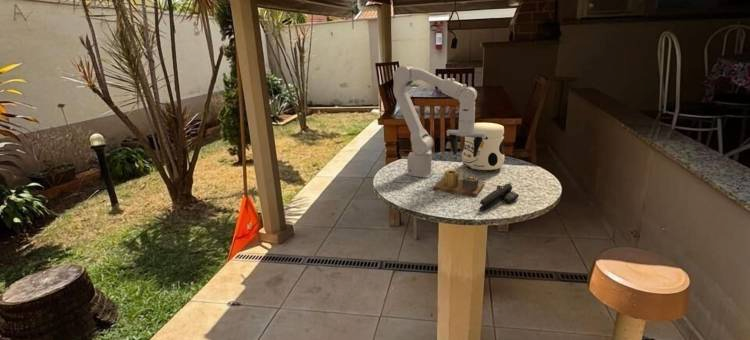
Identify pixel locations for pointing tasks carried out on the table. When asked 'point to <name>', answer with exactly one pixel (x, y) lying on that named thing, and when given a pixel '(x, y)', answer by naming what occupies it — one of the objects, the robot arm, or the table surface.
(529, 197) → the table surface
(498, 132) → the milk container
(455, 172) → the brass gear
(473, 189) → the gear board
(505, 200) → the can opener
